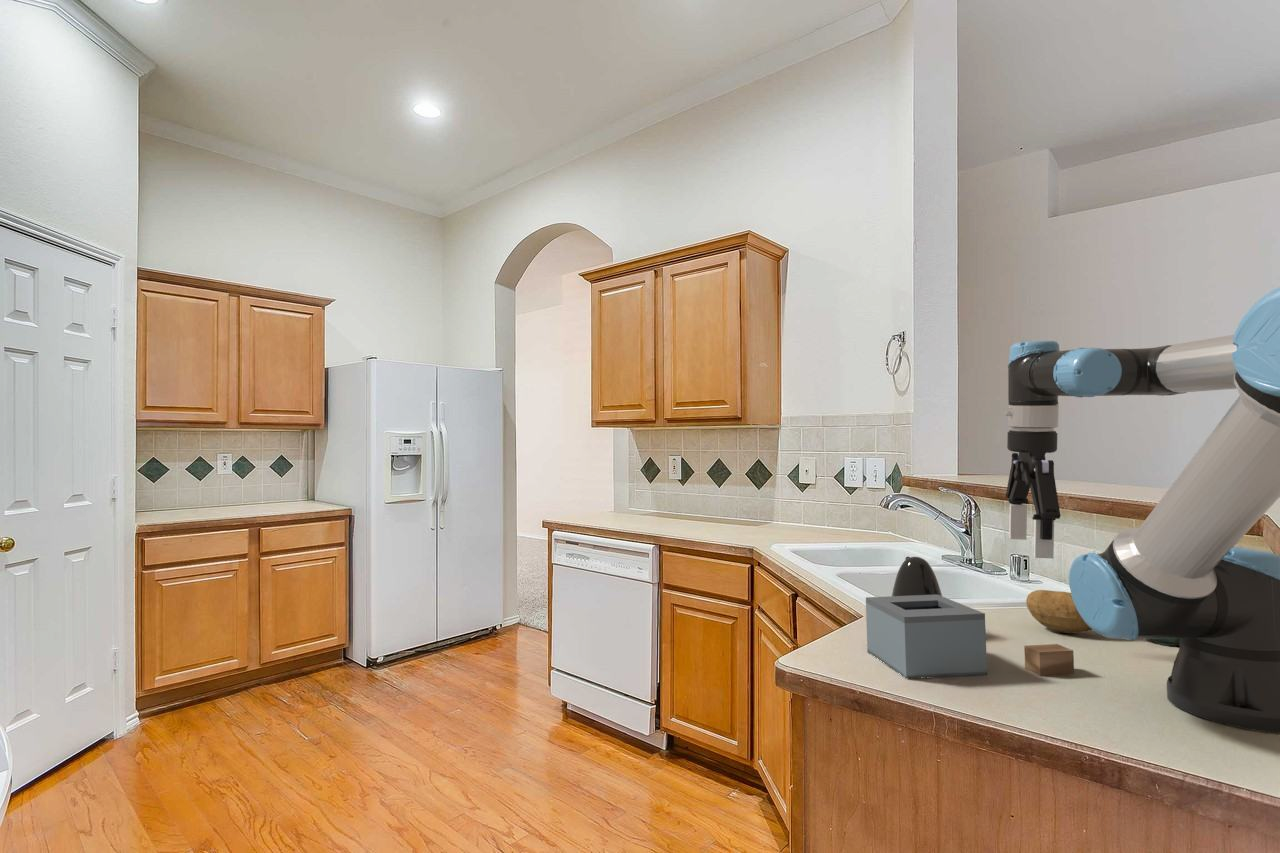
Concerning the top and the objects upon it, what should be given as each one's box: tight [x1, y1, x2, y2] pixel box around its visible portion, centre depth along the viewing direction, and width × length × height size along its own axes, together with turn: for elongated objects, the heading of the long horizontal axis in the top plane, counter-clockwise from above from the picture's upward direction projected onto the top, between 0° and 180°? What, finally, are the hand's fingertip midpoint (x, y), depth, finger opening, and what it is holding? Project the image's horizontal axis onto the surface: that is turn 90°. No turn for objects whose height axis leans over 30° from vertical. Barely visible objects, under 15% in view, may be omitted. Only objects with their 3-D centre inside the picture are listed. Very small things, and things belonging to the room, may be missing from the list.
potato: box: [1025, 589, 1093, 634], centre depth 127 cm, size 10×14×8 cm
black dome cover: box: [891, 556, 943, 597], centre depth 129 cm, size 10×10×15 cm
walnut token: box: [1023, 643, 1075, 677], centre depth 105 cm, size 4×6×4 cm, turn 96°
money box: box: [865, 594, 988, 679], centre depth 111 cm, size 14×14×10 cm
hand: (1029, 548), depth 113 cm, fingers open, 13 cm apart
